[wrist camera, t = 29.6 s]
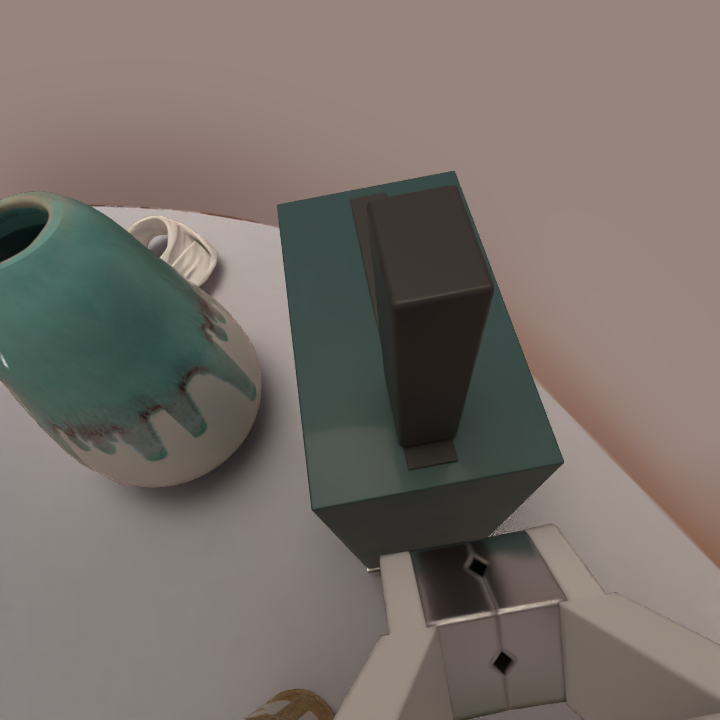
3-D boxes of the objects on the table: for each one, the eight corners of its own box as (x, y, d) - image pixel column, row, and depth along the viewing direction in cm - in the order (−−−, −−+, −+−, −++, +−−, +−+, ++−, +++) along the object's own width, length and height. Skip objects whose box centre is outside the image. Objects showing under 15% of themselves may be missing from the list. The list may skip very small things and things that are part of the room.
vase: (138, 337, 36) (-75, 121, 20) (289, 342, 34) (187, 115, 19) (83, 494, 31) (-265, 370, 15) (259, 509, 29) (80, 387, 13)
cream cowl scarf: (242, 269, 39) (224, 221, 35) (179, 324, 36) (152, 279, 32) (176, 232, 42) (152, 184, 38) (113, 281, 39) (81, 234, 35)
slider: (399, 448, 11) (391, 308, 6) (384, 375, 12) (364, 198, 7) (457, 438, 11) (498, 288, 6) (437, 365, 12) (458, 180, 7)
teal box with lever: (367, 572, 27) (306, 515, 11) (341, 407, 32) (272, 200, 16) (476, 552, 27) (572, 465, 11) (433, 389, 32) (457, 164, 16)
